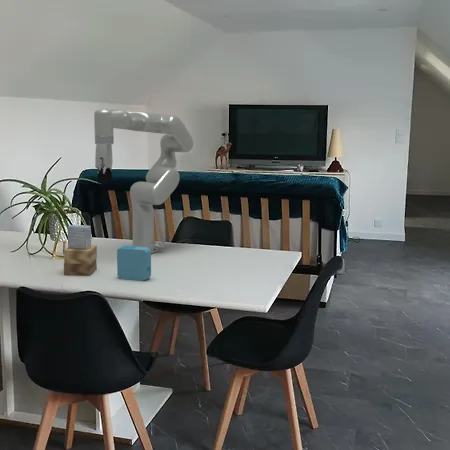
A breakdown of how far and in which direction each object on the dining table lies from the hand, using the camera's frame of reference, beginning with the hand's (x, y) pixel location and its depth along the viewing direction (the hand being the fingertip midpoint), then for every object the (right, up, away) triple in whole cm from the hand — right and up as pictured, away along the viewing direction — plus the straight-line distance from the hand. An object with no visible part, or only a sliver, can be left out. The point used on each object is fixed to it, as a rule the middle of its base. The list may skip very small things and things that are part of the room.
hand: (105, 182), depth 247 cm
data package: (+15, -38, -22) cm, 47 cm away
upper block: (-6, -32, -15) cm, 36 cm away
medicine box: (-7, -27, -16) cm, 32 cm away
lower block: (-7, -37, -14) cm, 40 cm away
